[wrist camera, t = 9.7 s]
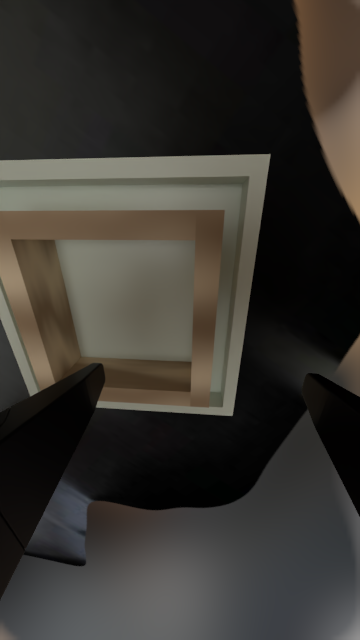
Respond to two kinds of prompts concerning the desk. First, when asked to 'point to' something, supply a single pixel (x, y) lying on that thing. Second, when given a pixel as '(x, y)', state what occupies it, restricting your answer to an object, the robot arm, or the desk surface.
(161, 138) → the desk surface
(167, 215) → the frame ring
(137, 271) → the tray
